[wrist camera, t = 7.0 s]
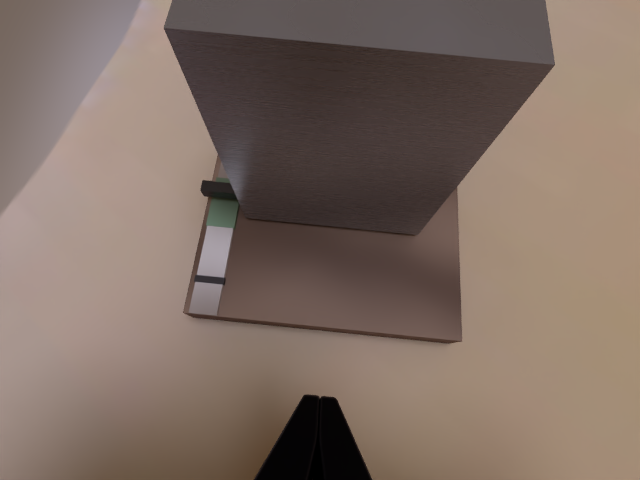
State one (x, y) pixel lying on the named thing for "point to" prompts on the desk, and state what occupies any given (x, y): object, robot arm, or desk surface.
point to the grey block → (355, 99)
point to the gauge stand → (328, 274)
